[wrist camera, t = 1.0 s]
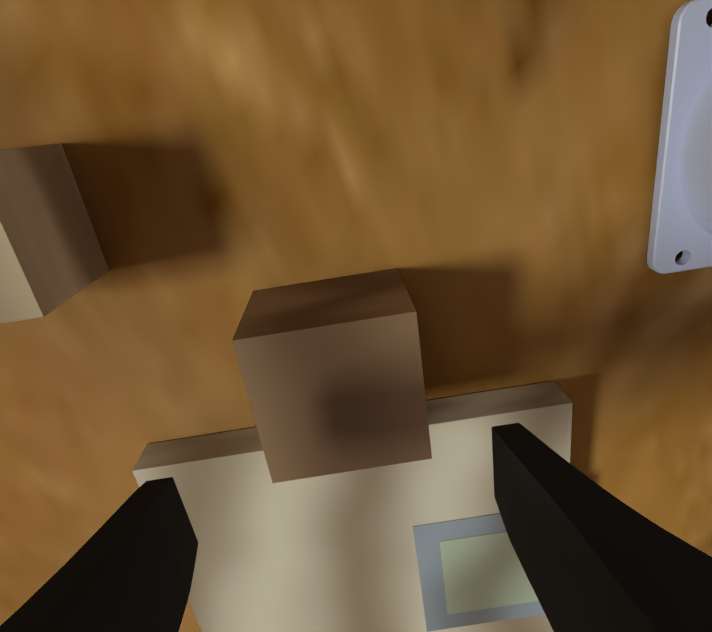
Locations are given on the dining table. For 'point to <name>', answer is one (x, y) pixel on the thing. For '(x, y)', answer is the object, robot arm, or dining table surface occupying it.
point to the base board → (362, 529)
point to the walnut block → (334, 375)
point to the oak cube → (42, 233)
